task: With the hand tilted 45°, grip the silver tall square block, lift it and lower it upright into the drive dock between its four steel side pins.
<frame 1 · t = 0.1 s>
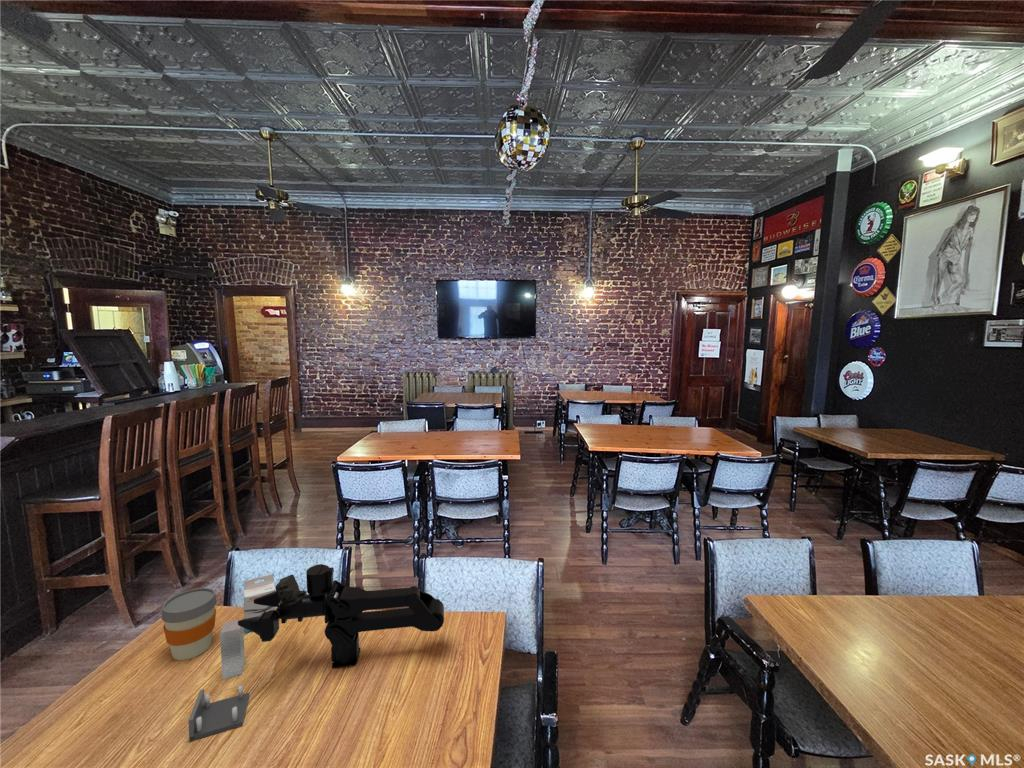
hand: (246, 611, 111), 17 cm above the table, tool horizontal, fingers open, 9 cm apart
ink box: (260, 625, 131), on the table
drive dock: (221, 717, 98), on the table
reusable coffee cup: (192, 649, 120), on the table
silver tall square block: (233, 671, 112), on the table
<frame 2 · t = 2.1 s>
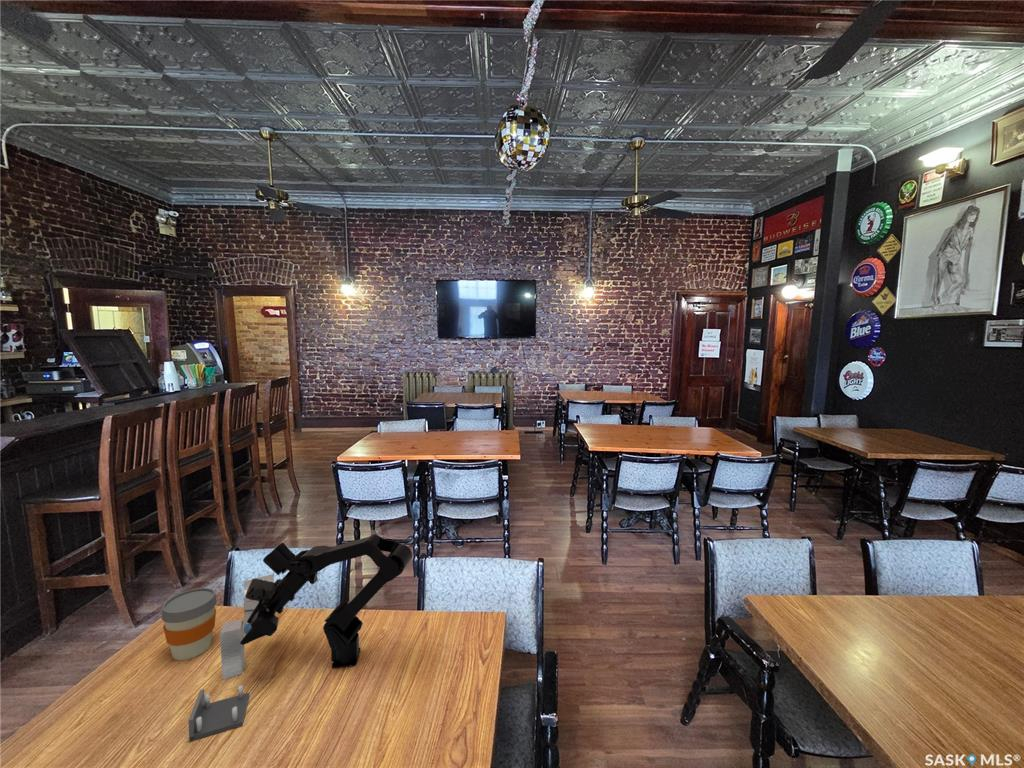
hand: (245, 632, 113), 10 cm above the table, tool tilted 45°, fingers open, 9 cm apart
nothing on the table moved.
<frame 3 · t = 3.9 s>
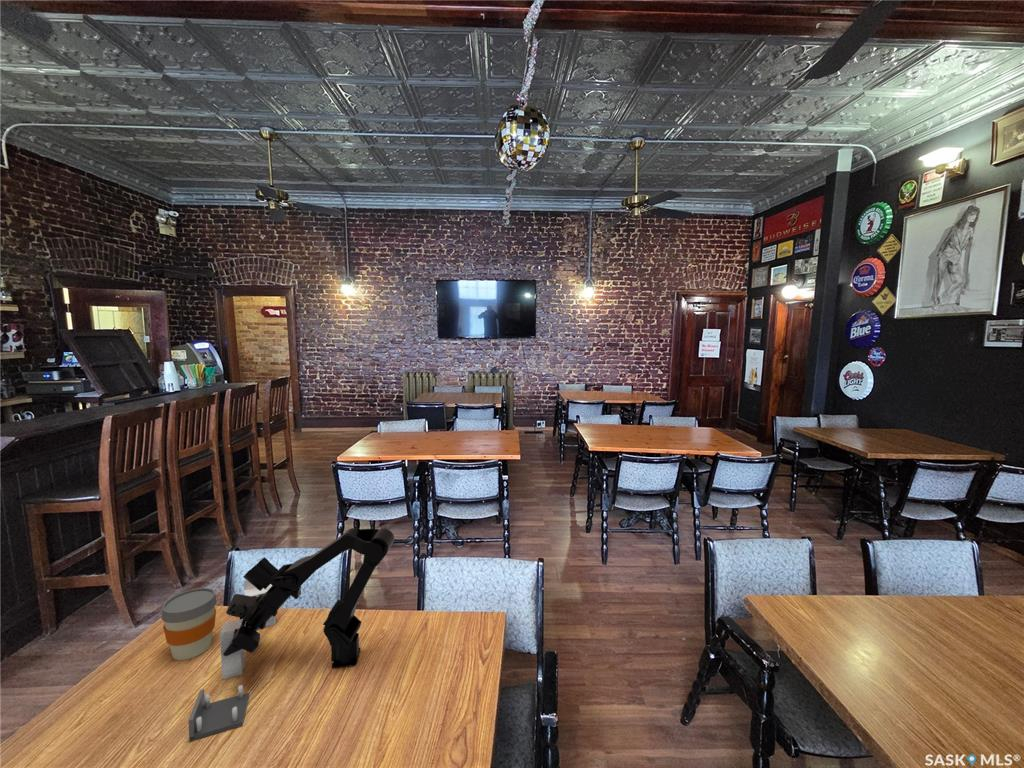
hand: (226, 649, 111), 7 cm above the table, tool tilted 45°, fingers closed on silver tall square block, 4 cm apart
silver tall square block: (233, 671, 112), on the table, touching gripper
everything else where it was.
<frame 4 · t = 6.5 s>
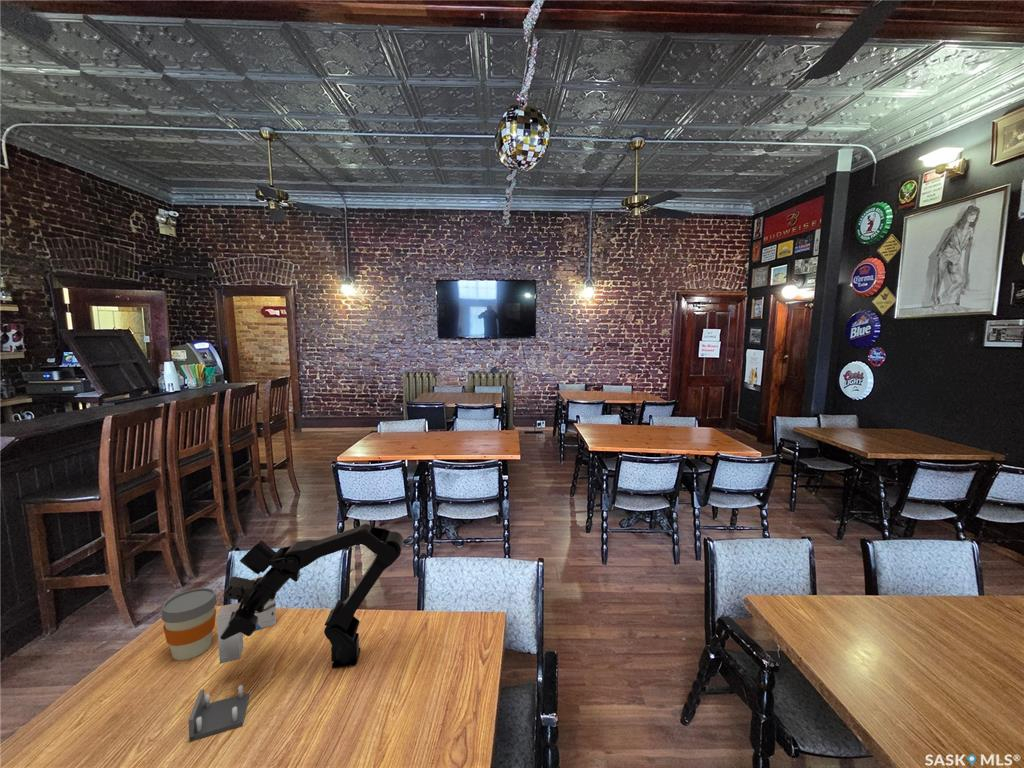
hand: (224, 632, 108), 13 cm above the table, tool tilted 45°, fingers closed on silver tall square block, 4 cm apart
silver tall square block: (231, 655, 109), point 6 cm above the table, touching gripper
everything else where it was.
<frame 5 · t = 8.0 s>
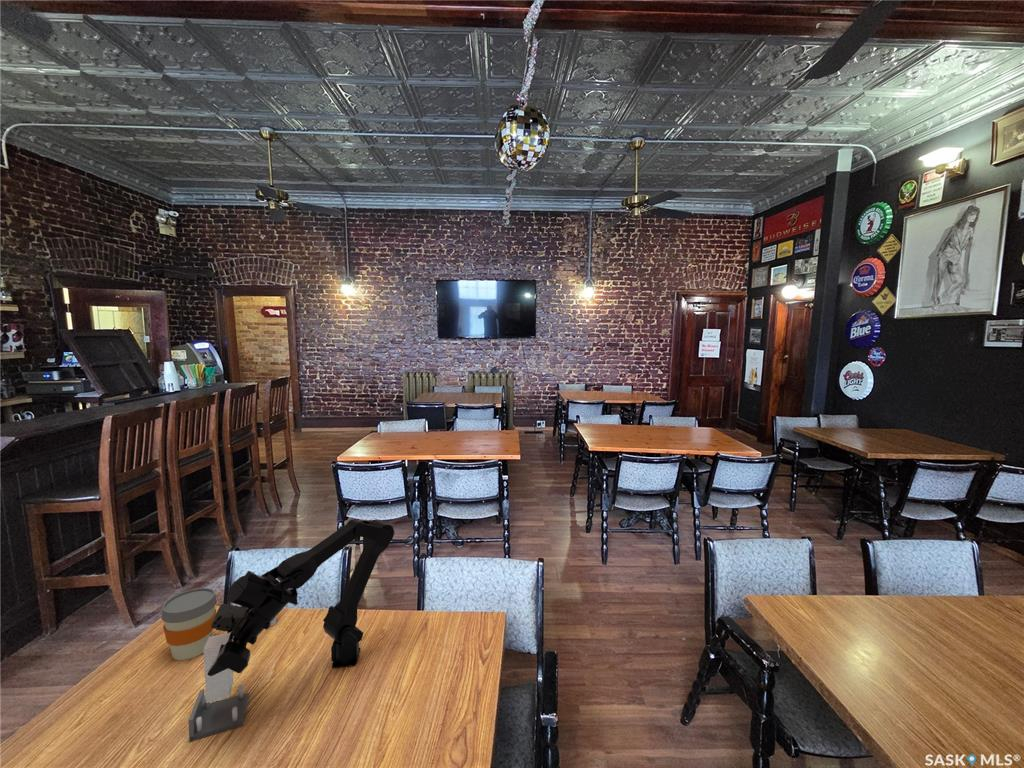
hand: (211, 667, 96), 13 cm above the table, tool tilted 45°, fingers closed on silver tall square block, 4 cm apart
silver tall square block: (220, 692, 98), point 6 cm above the table, touching gripper
everything else where it was.
when the fingers open (9 cm above the table, at t = 9.2 s): silver tall square block stays where it is, resting on drive dock.
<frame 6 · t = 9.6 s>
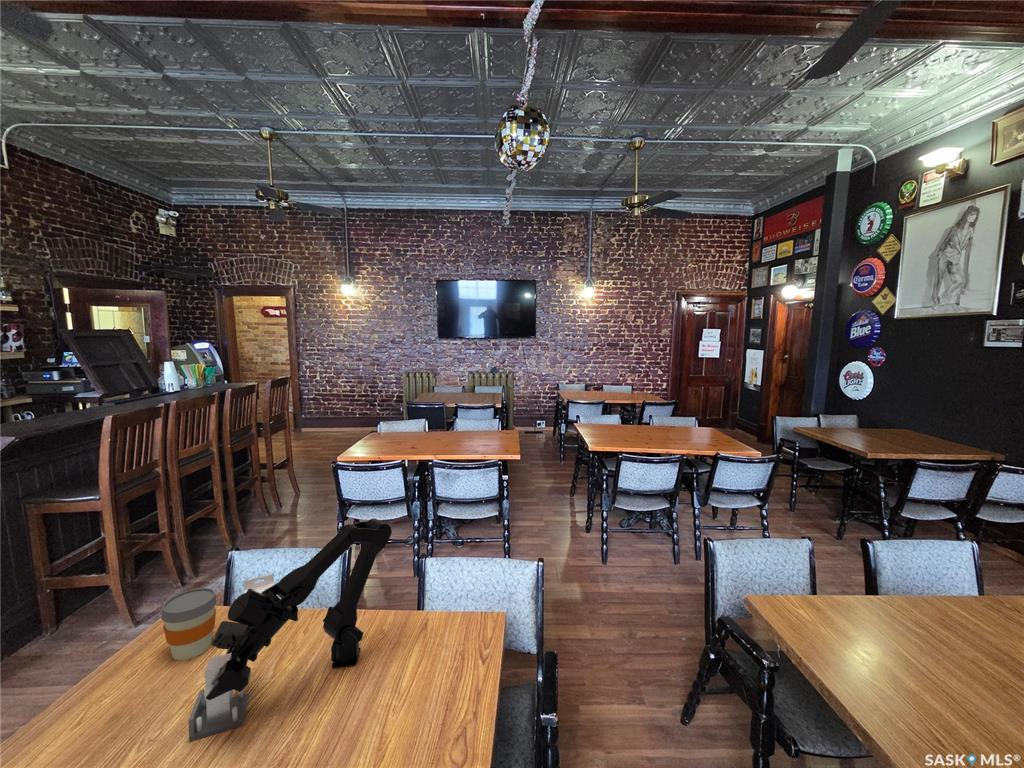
hand: (212, 685, 97), 9 cm above the table, tool tilted 45°, fingers open, 8 cm apart
silver tall square block: (221, 713, 98), point 1 cm above the table, touching drive dock
everything else where it was.
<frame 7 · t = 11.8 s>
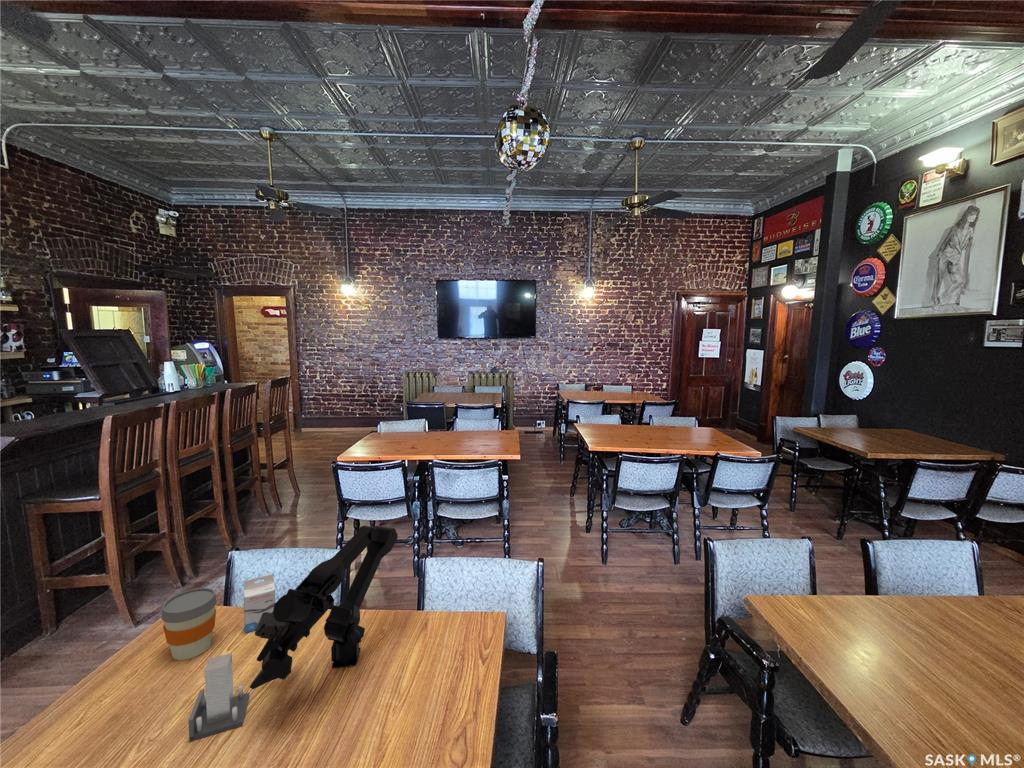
hand: (254, 673, 100), 9 cm above the table, tool tilted 45°, fingers open, 9 cm apart
nothing on the table moved.
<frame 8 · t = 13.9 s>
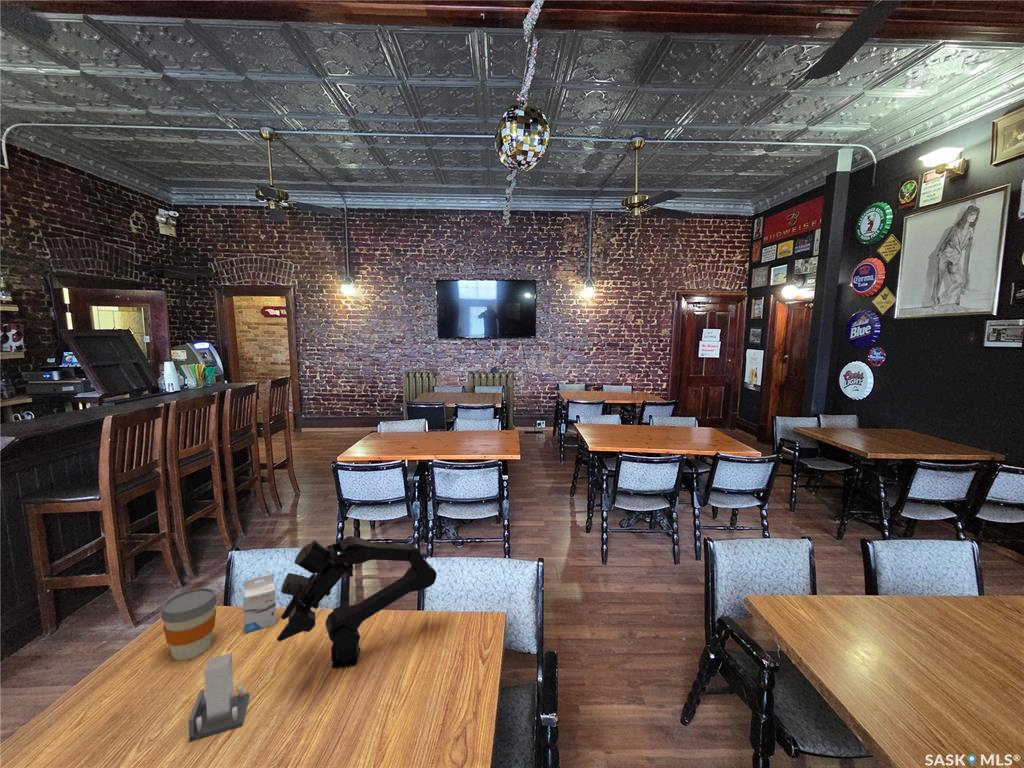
hand: (280, 629, 109), 14 cm above the table, tool tilted 45°, fingers open, 9 cm apart
nothing on the table moved.
at the end: silver tall square block 0.0 cm off-centre on the drive dock, point 1.0 cm above the drive dock's base; silver tall square block tilted 0°; the gripper is holding nothing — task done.
